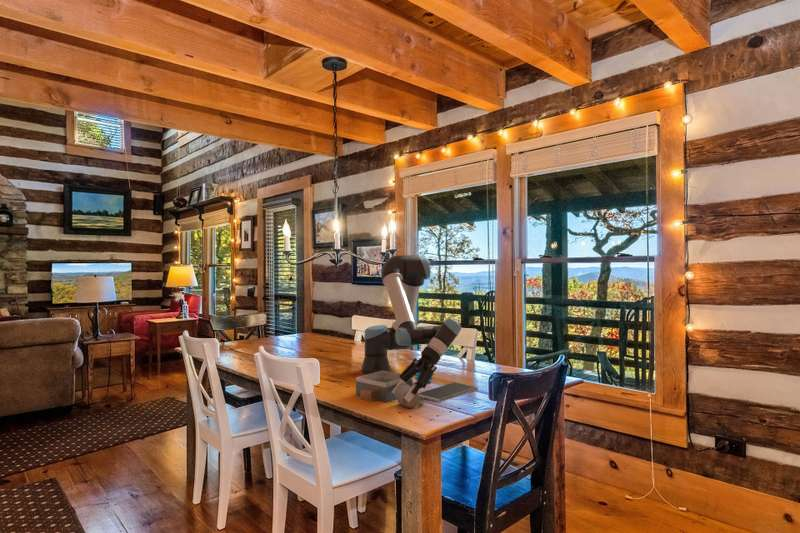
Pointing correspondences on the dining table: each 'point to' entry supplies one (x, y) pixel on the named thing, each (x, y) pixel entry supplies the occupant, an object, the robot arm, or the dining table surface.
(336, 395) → the dining table surface
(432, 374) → the gear
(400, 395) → the ceramic mug
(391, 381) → the grey hollow block
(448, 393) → the grey flat slab
